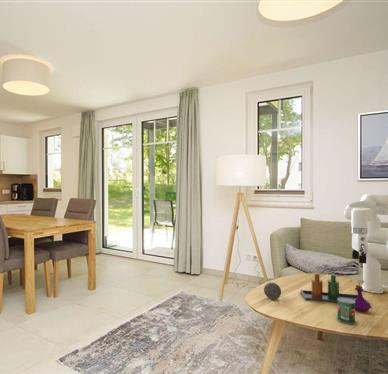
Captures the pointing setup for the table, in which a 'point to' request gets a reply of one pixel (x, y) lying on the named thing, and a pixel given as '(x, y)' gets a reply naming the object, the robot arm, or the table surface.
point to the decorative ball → (272, 290)
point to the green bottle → (333, 288)
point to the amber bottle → (317, 287)
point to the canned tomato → (346, 310)
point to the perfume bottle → (361, 299)
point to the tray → (325, 297)
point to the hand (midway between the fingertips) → (358, 260)
